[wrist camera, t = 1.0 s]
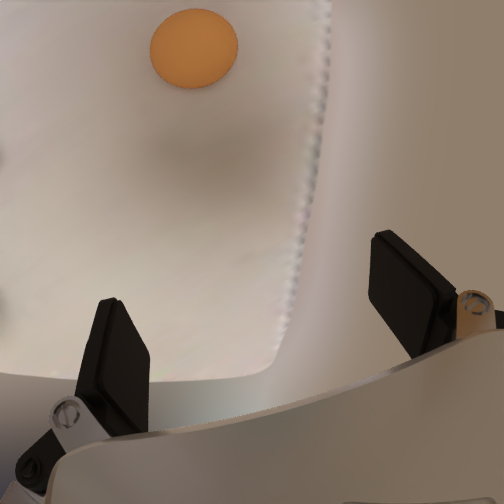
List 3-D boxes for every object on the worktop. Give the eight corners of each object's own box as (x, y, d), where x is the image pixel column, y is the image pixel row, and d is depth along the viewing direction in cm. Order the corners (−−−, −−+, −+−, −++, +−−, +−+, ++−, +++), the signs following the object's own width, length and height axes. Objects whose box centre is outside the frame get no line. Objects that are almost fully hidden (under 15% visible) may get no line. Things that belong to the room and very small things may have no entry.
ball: (148, 28, 19) (136, 12, 14) (224, 12, 19) (235, -8, 14) (162, 96, 22) (155, 99, 17) (237, 79, 22) (252, 78, 17)
